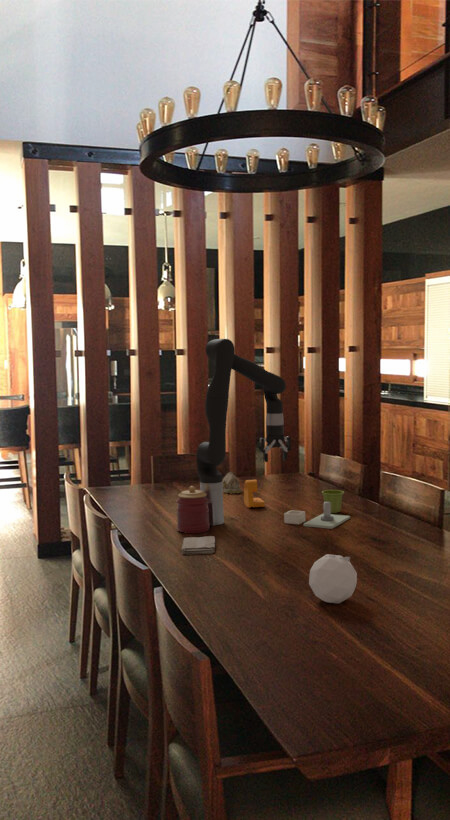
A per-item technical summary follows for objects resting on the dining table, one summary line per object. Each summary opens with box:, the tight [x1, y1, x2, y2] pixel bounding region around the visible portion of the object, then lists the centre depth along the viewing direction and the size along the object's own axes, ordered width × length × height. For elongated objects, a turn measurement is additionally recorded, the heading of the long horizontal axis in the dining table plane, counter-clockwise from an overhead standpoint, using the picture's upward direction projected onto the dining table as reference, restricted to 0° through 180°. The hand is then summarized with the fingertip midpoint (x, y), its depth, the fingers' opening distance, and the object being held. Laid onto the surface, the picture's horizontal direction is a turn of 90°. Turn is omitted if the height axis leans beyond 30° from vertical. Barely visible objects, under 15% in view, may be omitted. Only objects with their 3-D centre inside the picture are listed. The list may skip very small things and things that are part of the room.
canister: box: [175, 485, 211, 534], centre depth 301 cm, size 13×13×18 cm
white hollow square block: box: [283, 509, 306, 525], centre depth 311 cm, size 6×6×4 cm
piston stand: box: [302, 502, 351, 530], centre depth 309 cm, size 20×12×8 cm, turn 150°
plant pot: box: [321, 489, 345, 514], centre depth 328 cm, size 9×9×9 cm
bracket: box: [243, 479, 265, 509], centre depth 344 cm, size 11×7×12 cm, turn 10°
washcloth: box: [181, 535, 216, 555], centre depth 275 cm, size 12×18×3 cm, turn 2°
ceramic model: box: [222, 471, 243, 495], centre depth 381 cm, size 14×11×10 cm
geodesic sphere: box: [308, 553, 358, 604], centre depth 213 cm, size 14×14×14 cm
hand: (275, 461), depth 329 cm, fingers open, 8 cm apart
